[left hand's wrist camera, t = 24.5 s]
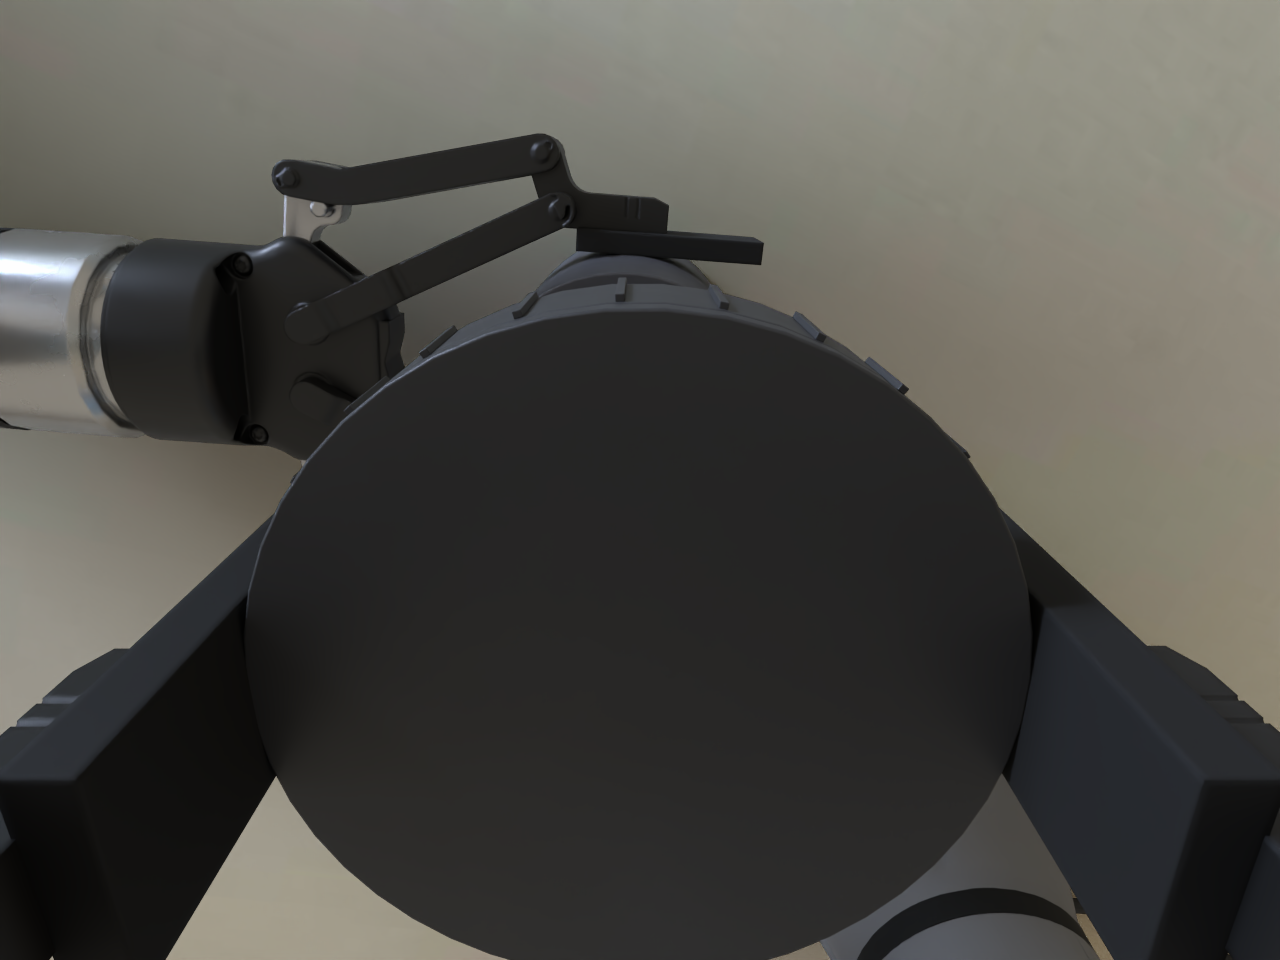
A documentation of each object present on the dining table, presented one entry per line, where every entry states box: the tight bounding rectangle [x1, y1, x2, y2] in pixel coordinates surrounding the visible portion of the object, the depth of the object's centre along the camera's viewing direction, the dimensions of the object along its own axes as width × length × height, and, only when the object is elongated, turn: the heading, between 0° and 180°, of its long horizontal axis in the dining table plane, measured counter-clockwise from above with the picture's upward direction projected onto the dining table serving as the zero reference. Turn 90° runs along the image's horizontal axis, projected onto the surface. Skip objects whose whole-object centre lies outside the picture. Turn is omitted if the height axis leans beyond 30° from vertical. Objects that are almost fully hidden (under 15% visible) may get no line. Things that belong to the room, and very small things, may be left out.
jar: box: [536, 251, 710, 297], centre depth 30 cm, size 9×9×15 cm
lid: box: [244, 277, 1033, 960], centre depth 11 cm, size 10×10×2 cm
